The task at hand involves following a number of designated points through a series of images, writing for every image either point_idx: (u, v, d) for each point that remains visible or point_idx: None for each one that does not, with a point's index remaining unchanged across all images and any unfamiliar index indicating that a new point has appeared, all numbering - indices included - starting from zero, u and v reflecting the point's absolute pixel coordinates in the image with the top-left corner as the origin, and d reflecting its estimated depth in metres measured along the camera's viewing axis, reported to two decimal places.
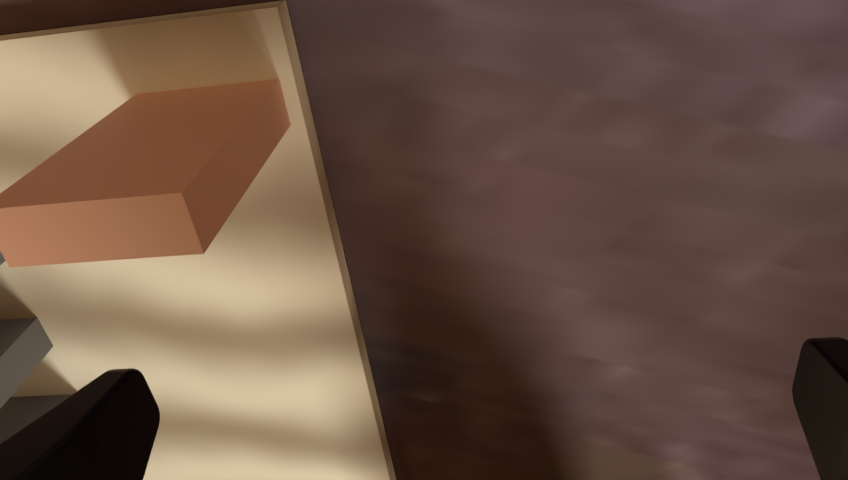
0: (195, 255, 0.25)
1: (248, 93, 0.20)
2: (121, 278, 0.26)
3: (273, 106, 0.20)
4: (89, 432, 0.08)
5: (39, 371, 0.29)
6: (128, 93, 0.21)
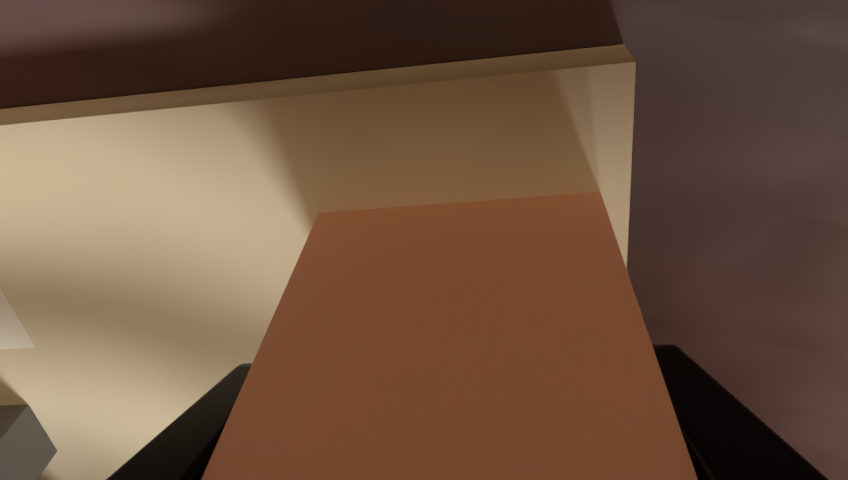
0: None
1: (570, 232, 0.10)
2: None
3: None
4: None
5: None
6: (304, 212, 0.12)
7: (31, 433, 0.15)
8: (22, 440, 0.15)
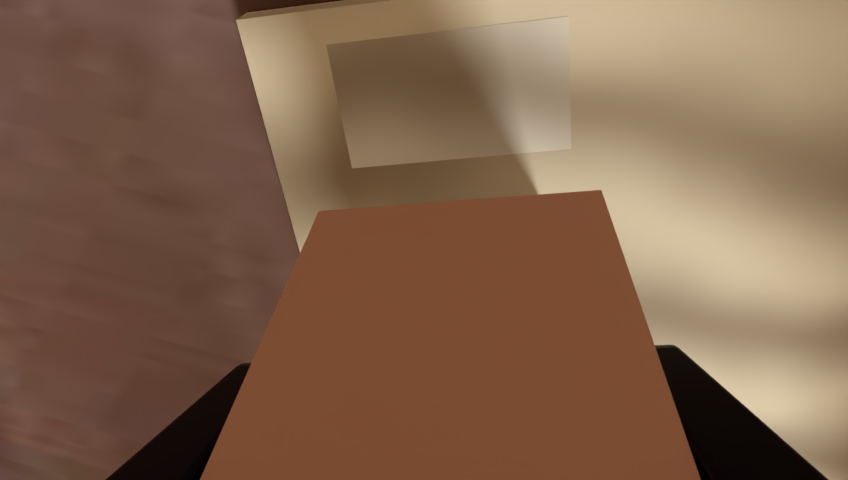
0: (791, 234, 0.21)
1: (571, 230, 0.10)
2: (679, 262, 0.22)
3: None
4: None
5: None
6: (821, 29, 0.17)
7: None
8: None
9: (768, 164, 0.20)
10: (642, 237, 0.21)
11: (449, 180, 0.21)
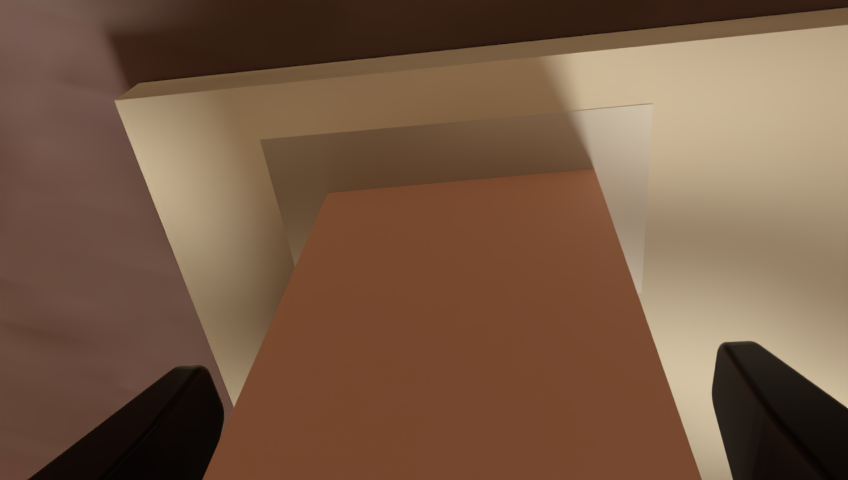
0: None
1: (566, 205, 0.11)
2: None
3: None
4: (165, 430, 0.08)
5: None
6: None
7: None
8: None
9: None
10: None
11: None
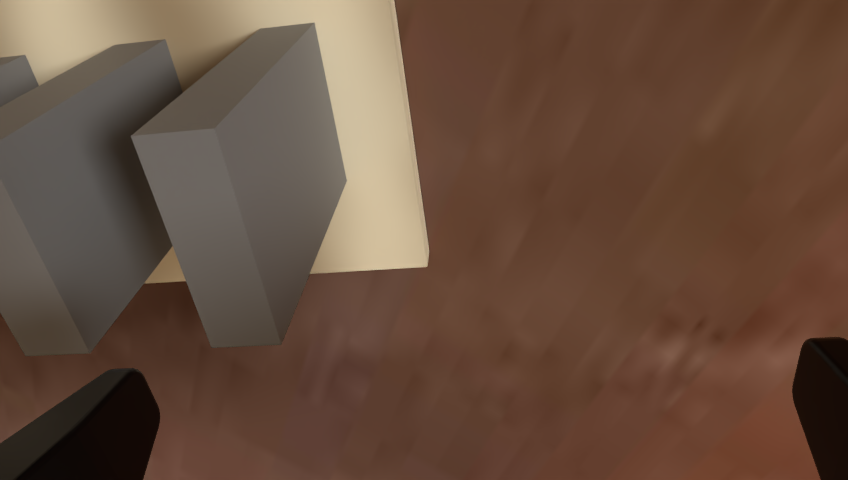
0: None
1: None
2: None
3: None
4: (89, 432, 0.08)
5: None
6: None
7: None
8: None
9: None
10: None
11: None
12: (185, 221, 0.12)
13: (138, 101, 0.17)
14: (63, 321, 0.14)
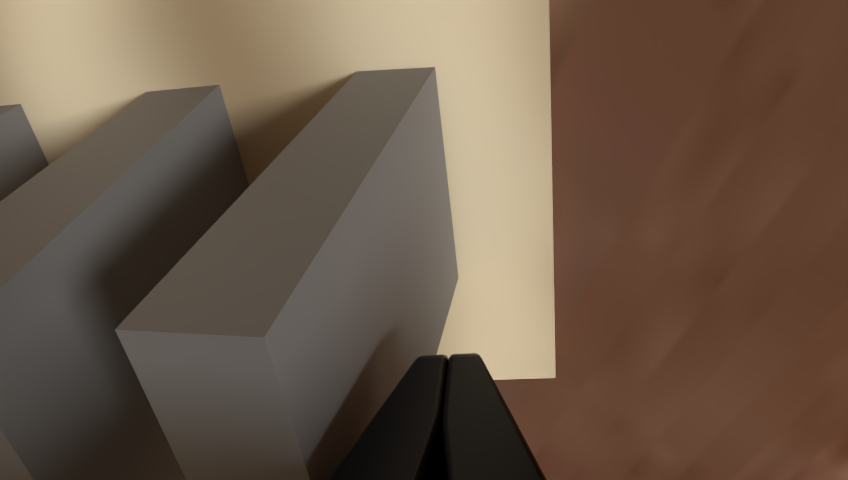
0: None
1: None
2: None
3: None
4: None
5: None
6: None
7: None
8: None
9: None
10: None
11: None
12: (209, 458, 0.07)
13: (187, 183, 0.12)
14: None
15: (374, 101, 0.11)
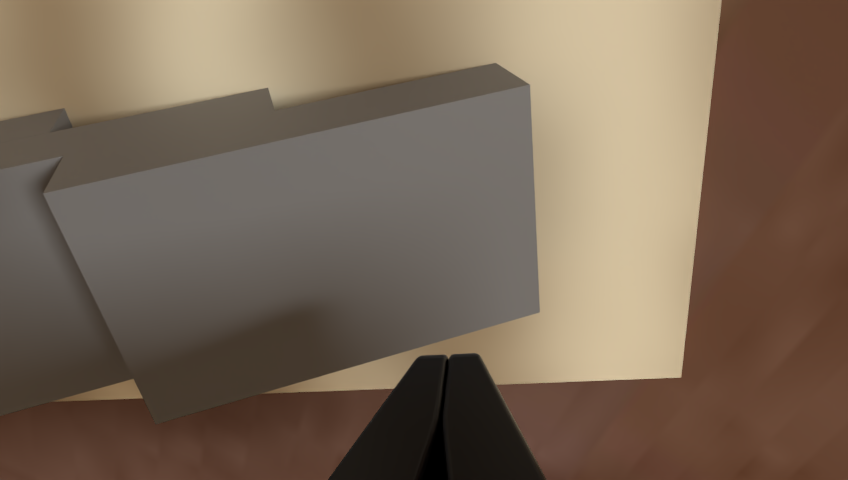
0: None
1: None
2: None
3: None
4: (442, 421, 0.07)
5: None
6: None
7: None
8: None
9: None
10: None
11: None
12: None
13: None
14: None
15: (419, 94, 0.11)
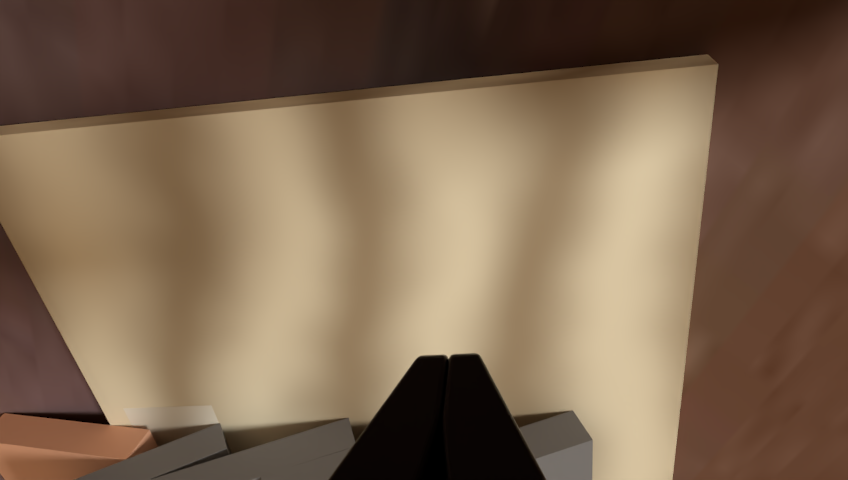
0: (250, 262, 0.23)
1: None
2: (295, 335, 0.25)
3: (119, 436, 0.27)
4: None
5: None
6: (84, 278, 0.24)
7: (214, 435, 0.27)
8: (207, 436, 0.27)
9: (192, 290, 0.24)
10: (275, 361, 0.25)
11: None
12: None
13: None
14: None
15: (540, 440, 0.24)
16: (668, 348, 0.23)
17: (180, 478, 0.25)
